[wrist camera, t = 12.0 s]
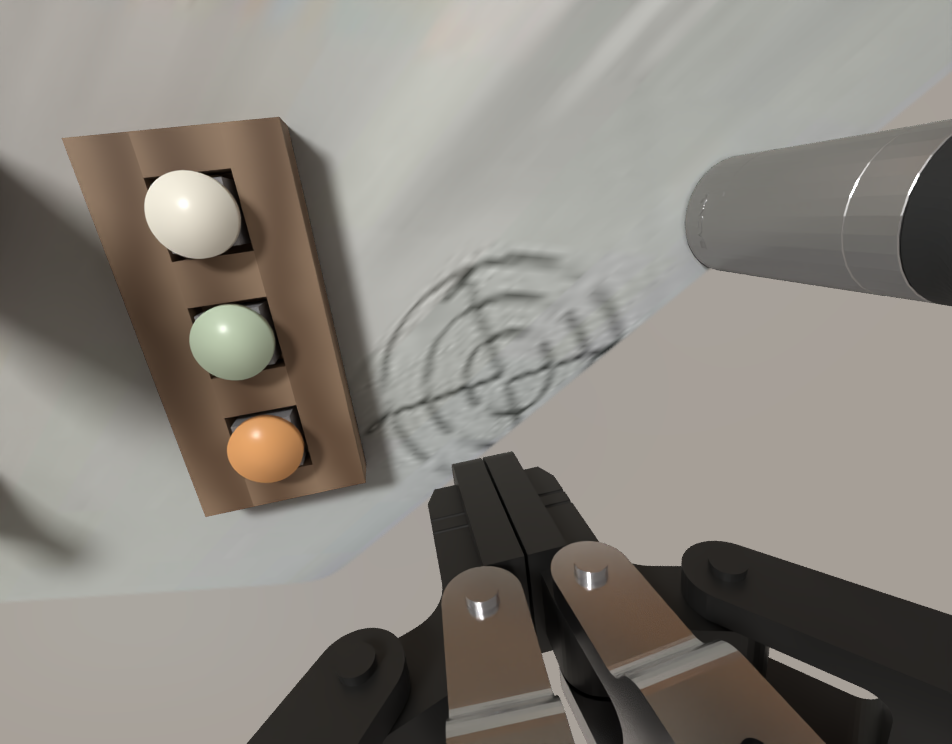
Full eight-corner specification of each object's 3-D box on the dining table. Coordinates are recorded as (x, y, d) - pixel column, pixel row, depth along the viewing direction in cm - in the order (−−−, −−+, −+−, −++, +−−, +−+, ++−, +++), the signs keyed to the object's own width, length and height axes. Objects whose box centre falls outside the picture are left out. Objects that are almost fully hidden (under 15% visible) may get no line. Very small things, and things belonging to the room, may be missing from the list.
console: (287, 125, 31) (278, 116, 29) (366, 464, 40) (365, 482, 37) (91, 145, 30) (61, 138, 27) (218, 495, 38) (205, 516, 35)
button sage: (273, 291, 34) (261, 300, 30) (291, 357, 35) (281, 373, 32) (199, 302, 33) (178, 312, 29) (221, 369, 35) (203, 386, 31)
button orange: (301, 394, 36) (292, 413, 33) (316, 450, 38) (310, 474, 34) (233, 406, 36) (217, 427, 32) (251, 463, 37) (238, 489, 34)
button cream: (240, 171, 31) (223, 165, 27) (261, 248, 33) (247, 252, 29) (159, 180, 30) (131, 175, 27) (185, 259, 32) (161, 264, 28)
